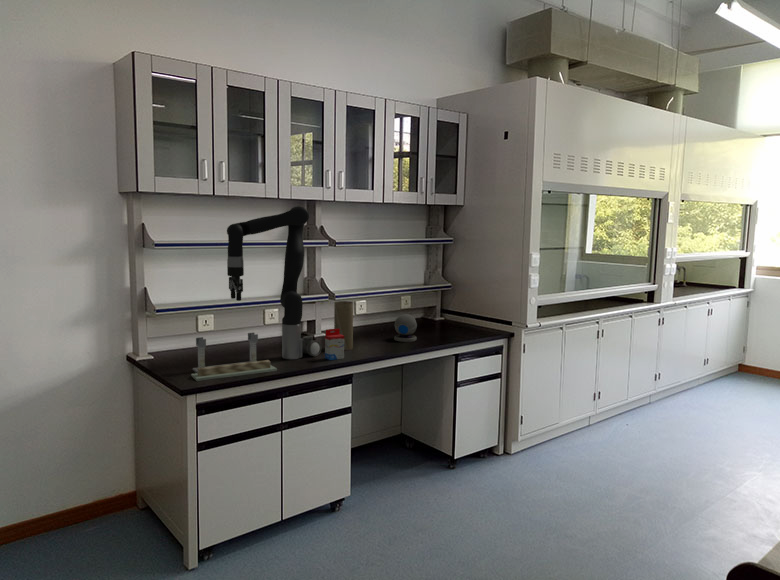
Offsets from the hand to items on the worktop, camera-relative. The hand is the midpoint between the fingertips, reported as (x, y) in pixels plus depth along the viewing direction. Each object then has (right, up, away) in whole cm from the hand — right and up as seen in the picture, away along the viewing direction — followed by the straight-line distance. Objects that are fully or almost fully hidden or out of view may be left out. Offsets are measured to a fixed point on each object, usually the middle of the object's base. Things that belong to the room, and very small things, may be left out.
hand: (235, 299), depth 282 cm
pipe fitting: (+32, -29, +19) cm, 47 cm away
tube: (+49, -27, +36) cm, 66 cm away
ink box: (+46, -30, +12) cm, 56 cm away
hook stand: (-1, -32, -11) cm, 33 cm away
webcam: (+83, -25, +62) cm, 107 cm away
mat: (+5, -33, -20) cm, 38 cm away
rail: (+5, -32, -20) cm, 38 cm away
